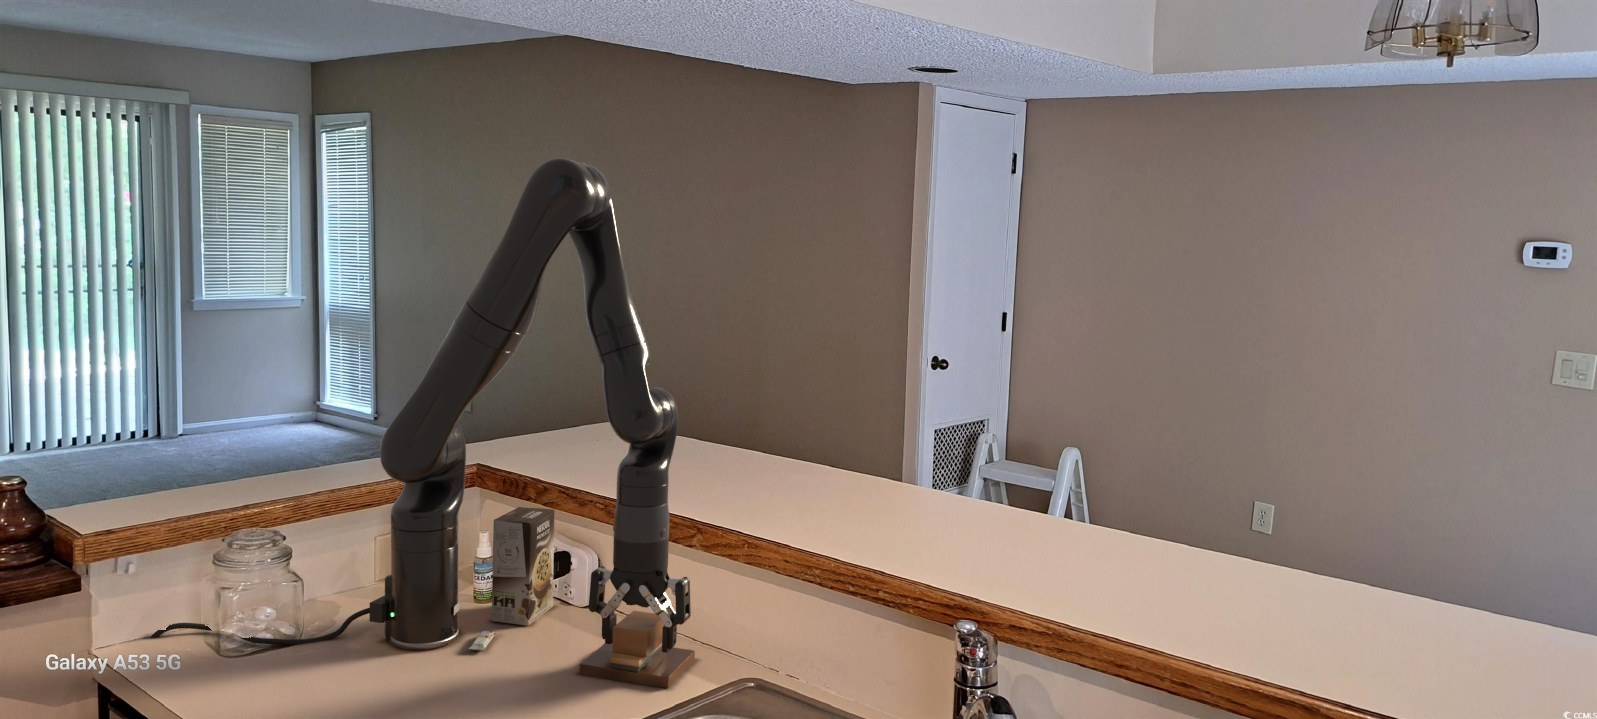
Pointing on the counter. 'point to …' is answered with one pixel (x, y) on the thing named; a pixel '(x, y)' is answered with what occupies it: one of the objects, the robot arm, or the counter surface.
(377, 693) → the counter surface
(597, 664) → the board
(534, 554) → the coffee box
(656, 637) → the stepped wooden block
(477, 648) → the granola bar
